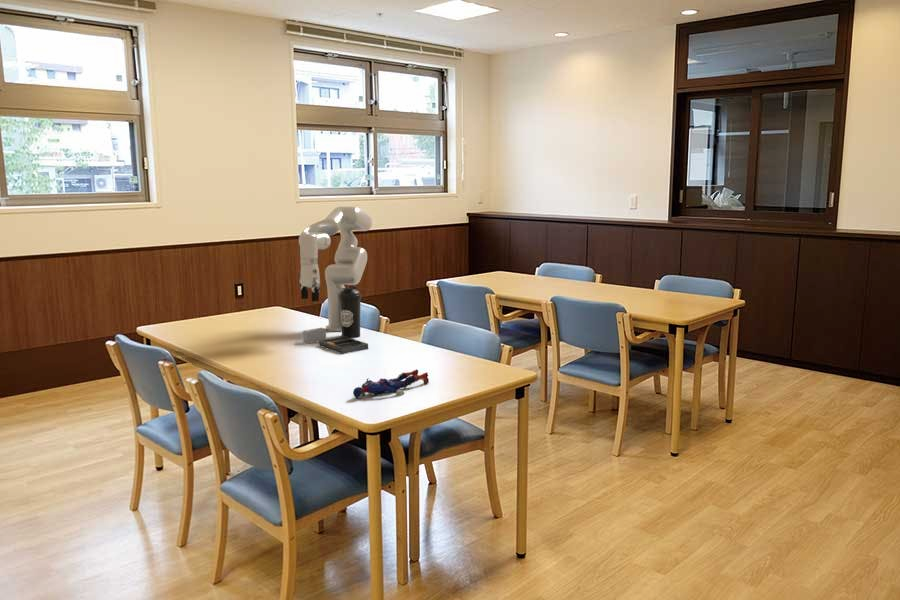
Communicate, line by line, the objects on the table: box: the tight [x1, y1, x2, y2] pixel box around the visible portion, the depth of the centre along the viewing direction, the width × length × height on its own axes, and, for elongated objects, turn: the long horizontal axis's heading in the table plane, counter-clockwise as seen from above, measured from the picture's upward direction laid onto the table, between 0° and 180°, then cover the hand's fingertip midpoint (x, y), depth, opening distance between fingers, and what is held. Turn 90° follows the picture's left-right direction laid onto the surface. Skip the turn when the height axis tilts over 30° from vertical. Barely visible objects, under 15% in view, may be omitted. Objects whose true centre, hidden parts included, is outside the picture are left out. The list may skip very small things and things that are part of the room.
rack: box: [318, 335, 369, 355], centre depth 300 cm, size 13×19×3 cm
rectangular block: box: [302, 327, 327, 344], centre depth 311 cm, size 10×4×6 cm, turn 131°
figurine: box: [353, 369, 430, 399], centre depth 239 cm, size 14×6×30 cm
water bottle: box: [339, 285, 362, 339], centre depth 319 cm, size 10×10×23 cm
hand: (309, 299), depth 308 cm, fingers open, 9 cm apart
